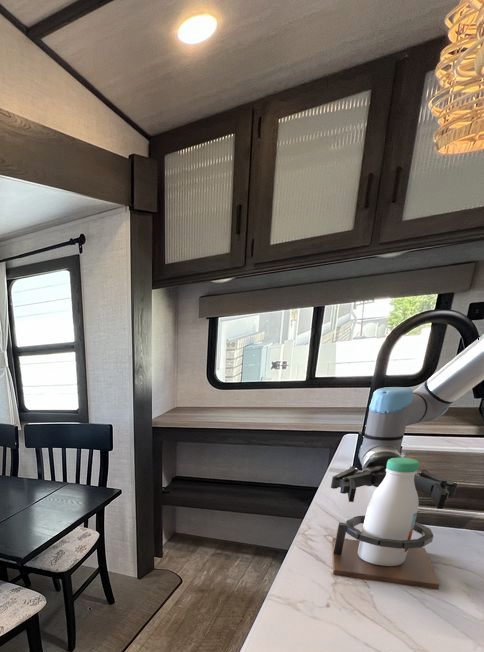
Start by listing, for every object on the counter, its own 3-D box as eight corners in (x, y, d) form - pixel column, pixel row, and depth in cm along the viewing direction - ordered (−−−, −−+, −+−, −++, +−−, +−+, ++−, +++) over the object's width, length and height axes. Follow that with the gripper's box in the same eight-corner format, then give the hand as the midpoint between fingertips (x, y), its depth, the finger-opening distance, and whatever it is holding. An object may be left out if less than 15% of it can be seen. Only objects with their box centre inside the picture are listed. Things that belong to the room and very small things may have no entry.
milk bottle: (395, 571, 88) (421, 468, 80) (350, 558, 94) (370, 461, 85) (410, 557, 92) (437, 458, 84) (366, 546, 98) (387, 452, 89)
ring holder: (423, 551, 95) (433, 517, 92) (438, 589, 83) (450, 551, 80) (331, 541, 103) (338, 509, 100) (333, 574, 90) (340, 538, 87)
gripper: (450, 487, 100) (477, 524, 83) (316, 479, 112) (315, 510, 95) (460, 453, 97) (490, 484, 80) (321, 448, 109) (321, 475, 92)
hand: (395, 498), depth 88 cm, fingers open, 13 cm apart
